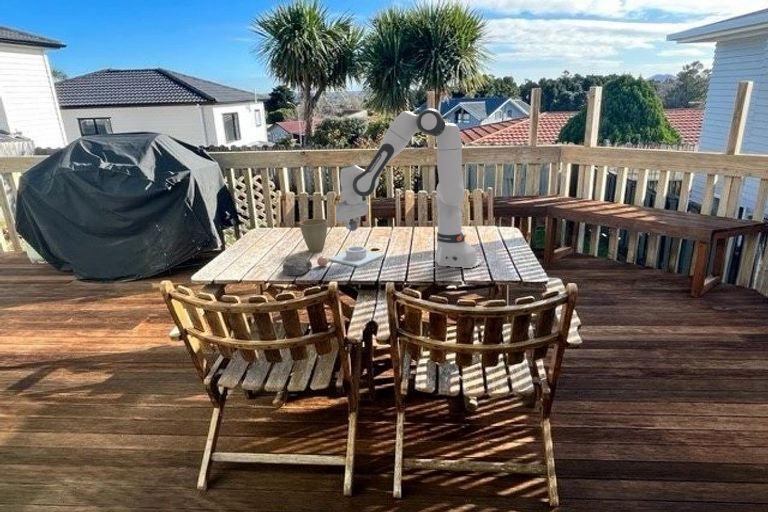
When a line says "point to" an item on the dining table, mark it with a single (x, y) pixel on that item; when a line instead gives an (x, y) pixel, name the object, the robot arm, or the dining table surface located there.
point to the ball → (322, 261)
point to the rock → (296, 266)
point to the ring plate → (356, 262)
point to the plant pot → (314, 233)
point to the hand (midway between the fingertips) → (352, 227)
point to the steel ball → (353, 225)
